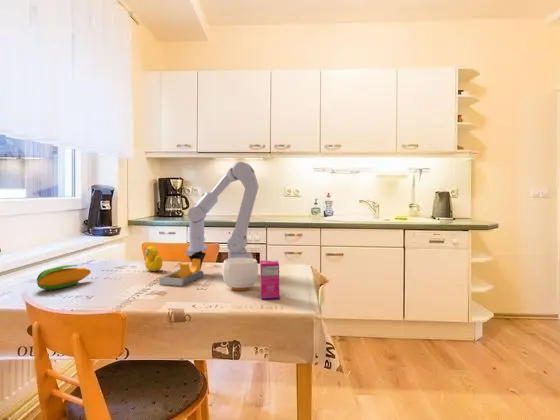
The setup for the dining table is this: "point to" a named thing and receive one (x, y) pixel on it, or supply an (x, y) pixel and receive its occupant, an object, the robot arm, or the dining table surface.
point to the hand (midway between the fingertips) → (197, 271)
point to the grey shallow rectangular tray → (175, 280)
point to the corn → (61, 277)
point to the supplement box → (269, 279)
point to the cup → (240, 272)
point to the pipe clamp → (189, 268)
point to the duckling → (153, 259)
